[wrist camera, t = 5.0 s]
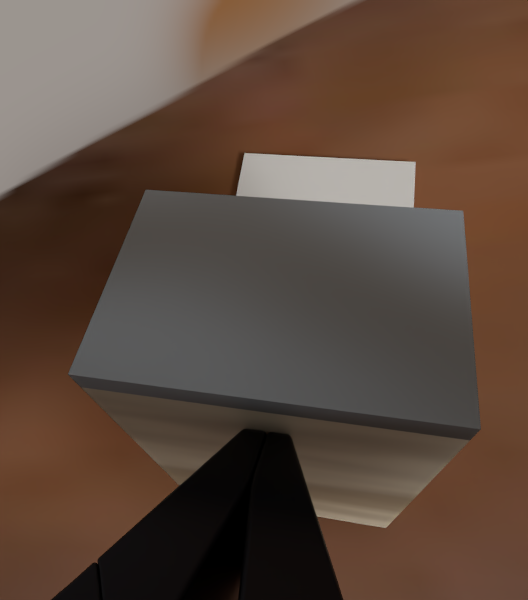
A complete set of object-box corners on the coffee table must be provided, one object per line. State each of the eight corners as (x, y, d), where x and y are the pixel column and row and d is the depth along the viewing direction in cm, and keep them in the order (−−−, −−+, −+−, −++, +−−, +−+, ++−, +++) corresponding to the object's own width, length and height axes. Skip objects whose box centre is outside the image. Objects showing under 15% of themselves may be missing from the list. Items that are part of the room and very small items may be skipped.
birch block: (385, 527, 14) (480, 429, 6) (188, 494, 15) (68, 374, 7) (389, 399, 16) (463, 211, 8) (216, 377, 17) (145, 189, 9)
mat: (404, 385, 16) (406, 383, 16) (205, 361, 17) (203, 359, 17) (414, 166, 19) (415, 162, 19) (245, 157, 20) (244, 152, 20)
